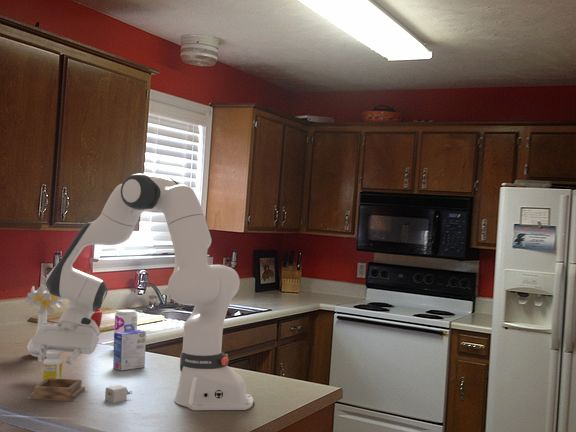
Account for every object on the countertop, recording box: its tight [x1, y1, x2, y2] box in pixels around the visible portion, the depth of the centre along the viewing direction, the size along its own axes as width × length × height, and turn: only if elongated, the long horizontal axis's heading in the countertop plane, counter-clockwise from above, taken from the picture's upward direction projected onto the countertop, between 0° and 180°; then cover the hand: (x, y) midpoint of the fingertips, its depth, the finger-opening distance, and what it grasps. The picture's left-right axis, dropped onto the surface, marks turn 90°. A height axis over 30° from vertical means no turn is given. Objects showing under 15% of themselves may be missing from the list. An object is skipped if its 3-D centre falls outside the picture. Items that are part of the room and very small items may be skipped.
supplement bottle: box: [42, 351, 63, 381], centre depth 207 cm, size 5×5×10 cm
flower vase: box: [23, 283, 65, 358], centre depth 244 cm, size 13×18×25 cm
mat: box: [26, 390, 89, 402], centre depth 195 cm, size 14×11×1 cm
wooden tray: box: [29, 378, 86, 401], centre depth 195 cm, size 12×10×3 cm
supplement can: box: [113, 308, 138, 334], centre depth 261 cm, size 8×8×15 cm
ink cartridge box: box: [112, 324, 147, 372], centre depth 233 cm, size 10×6×14 cm, turn 137°
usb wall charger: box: [104, 384, 133, 403], centre depth 194 cm, size 4×7×4 cm, turn 140°
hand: (54, 361), depth 208 cm, fingers open, 8 cm apart
